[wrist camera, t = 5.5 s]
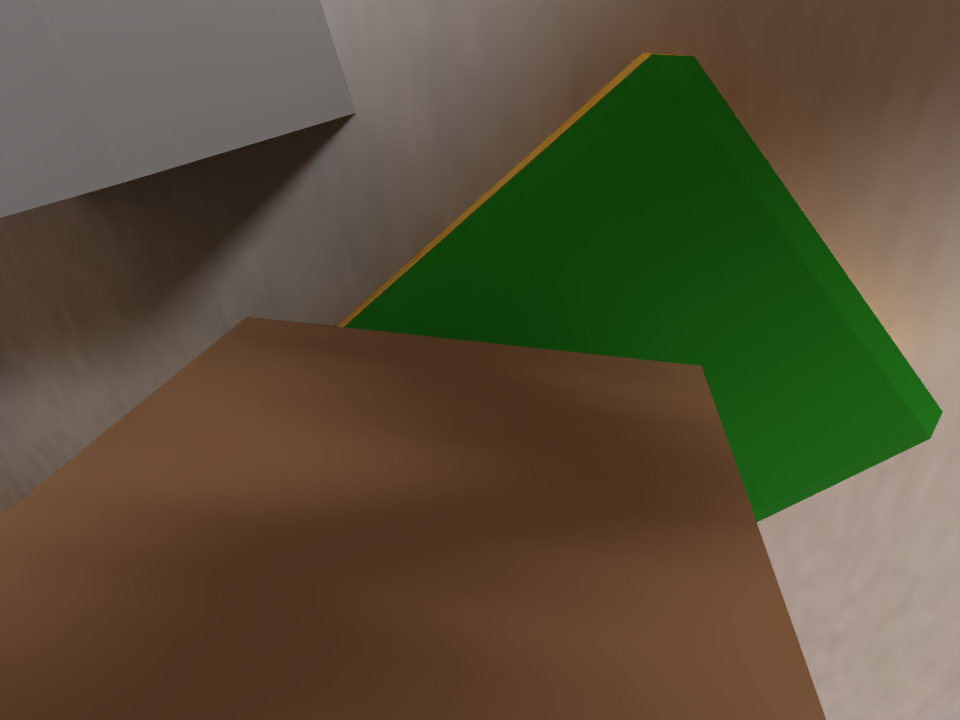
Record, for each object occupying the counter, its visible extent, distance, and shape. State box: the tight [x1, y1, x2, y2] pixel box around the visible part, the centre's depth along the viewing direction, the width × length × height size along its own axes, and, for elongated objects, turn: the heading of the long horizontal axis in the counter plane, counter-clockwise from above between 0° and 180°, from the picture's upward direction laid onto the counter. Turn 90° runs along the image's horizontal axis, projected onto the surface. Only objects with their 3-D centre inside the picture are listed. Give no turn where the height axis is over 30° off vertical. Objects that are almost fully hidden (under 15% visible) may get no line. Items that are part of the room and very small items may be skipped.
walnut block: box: [0, 317, 826, 720], centre depth 7 cm, size 6×6×6 cm
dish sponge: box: [336, 53, 942, 522], centre depth 12 cm, size 7×14×2 cm, turn 132°
